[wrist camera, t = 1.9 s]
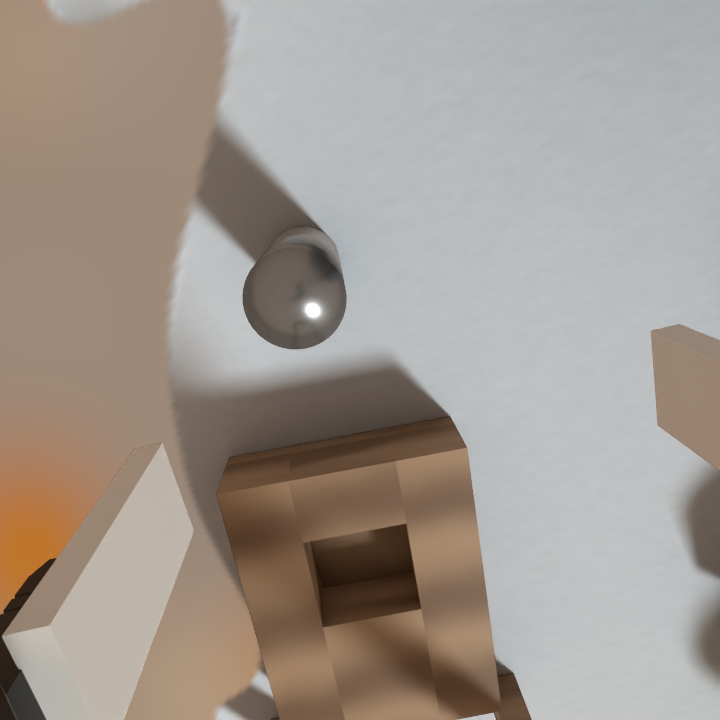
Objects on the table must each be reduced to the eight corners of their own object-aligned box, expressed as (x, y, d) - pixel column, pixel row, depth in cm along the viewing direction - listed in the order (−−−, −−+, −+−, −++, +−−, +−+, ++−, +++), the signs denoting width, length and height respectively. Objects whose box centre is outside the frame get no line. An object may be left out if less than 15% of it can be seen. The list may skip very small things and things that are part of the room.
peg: (261, 233, 33) (231, 257, 22) (332, 220, 33) (335, 238, 22) (277, 302, 34) (255, 357, 23) (345, 290, 34) (354, 339, 23)
